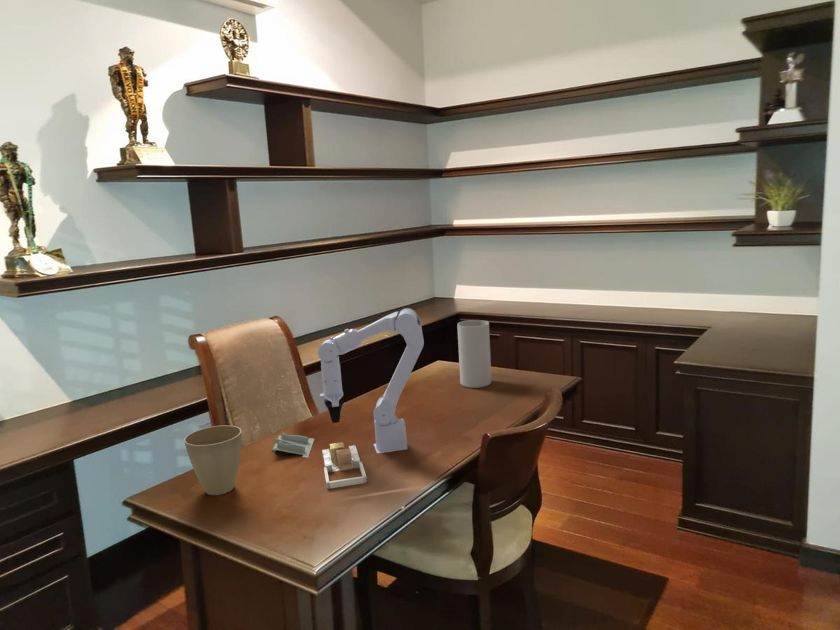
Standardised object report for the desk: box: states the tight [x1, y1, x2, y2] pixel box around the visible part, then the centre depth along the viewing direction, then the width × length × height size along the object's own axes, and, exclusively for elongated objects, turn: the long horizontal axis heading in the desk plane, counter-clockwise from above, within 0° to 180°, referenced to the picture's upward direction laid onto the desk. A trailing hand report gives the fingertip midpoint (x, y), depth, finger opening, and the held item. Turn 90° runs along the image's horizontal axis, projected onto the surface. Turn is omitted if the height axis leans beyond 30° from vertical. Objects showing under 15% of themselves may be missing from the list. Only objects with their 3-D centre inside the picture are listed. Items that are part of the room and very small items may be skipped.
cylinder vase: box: [456, 319, 492, 389], centre depth 249 cm, size 12×12×25 cm
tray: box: [323, 461, 368, 490], centre depth 172 cm, size 11×10×2 cm
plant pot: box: [183, 424, 242, 496], centre depth 170 cm, size 15×15×16 cm
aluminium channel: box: [321, 444, 361, 473], centre depth 183 cm, size 10×12×3 cm
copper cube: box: [336, 447, 352, 469], centre depth 181 cm, size 4×4×4 cm
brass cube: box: [329, 441, 345, 462], centre depth 185 cm, size 4×4×4 cm
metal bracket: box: [271, 432, 315, 459], centre depth 195 cm, size 14×6×15 cm
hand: (335, 421), depth 191 cm, fingers closed
